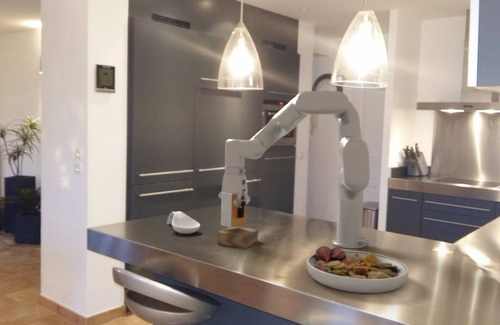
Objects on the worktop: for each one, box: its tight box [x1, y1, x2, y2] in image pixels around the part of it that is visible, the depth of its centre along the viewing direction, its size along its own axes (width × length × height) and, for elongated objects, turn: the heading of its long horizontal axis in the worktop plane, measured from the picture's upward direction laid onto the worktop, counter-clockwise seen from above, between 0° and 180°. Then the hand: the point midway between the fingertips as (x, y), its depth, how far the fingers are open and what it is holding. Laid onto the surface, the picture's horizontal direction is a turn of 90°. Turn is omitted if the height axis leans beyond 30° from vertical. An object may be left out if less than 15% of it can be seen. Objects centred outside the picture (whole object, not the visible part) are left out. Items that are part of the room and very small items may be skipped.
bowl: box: [306, 245, 410, 294], centre depth 142 cm, size 30×30×8 cm
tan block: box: [217, 226, 259, 249], centre depth 182 cm, size 12×12×5 cm
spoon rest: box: [166, 210, 201, 235], centre depth 201 cm, size 24×12×7 cm, turn 30°
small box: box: [220, 192, 247, 228], centre depth 183 cm, size 8×6×13 cm
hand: (233, 215), depth 183 cm, fingers closed on small box, 6 cm apart
